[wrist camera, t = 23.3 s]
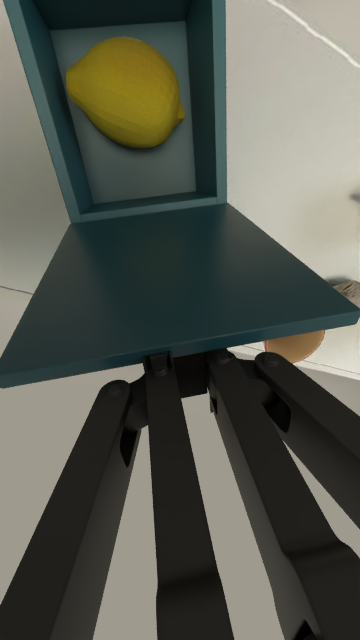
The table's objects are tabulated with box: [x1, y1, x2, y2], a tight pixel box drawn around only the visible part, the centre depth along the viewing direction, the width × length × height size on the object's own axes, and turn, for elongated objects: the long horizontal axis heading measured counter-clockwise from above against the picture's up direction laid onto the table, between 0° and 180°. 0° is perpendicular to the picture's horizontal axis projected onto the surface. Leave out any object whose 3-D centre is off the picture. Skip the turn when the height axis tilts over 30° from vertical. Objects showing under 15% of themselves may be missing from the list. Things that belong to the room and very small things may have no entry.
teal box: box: [3, 0, 227, 224], centre depth 25 cm, size 17×15×10 cm
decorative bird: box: [332, 281, 360, 308], centre depth 42 cm, size 5×16×7 cm, turn 85°
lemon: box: [66, 37, 185, 149], centre depth 24 cm, size 11×8×8 cm
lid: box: [0, 203, 360, 388], centre depth 17 cm, size 18×15×1 cm
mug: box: [263, 330, 325, 363], centre depth 39 cm, size 12×9×10 cm
